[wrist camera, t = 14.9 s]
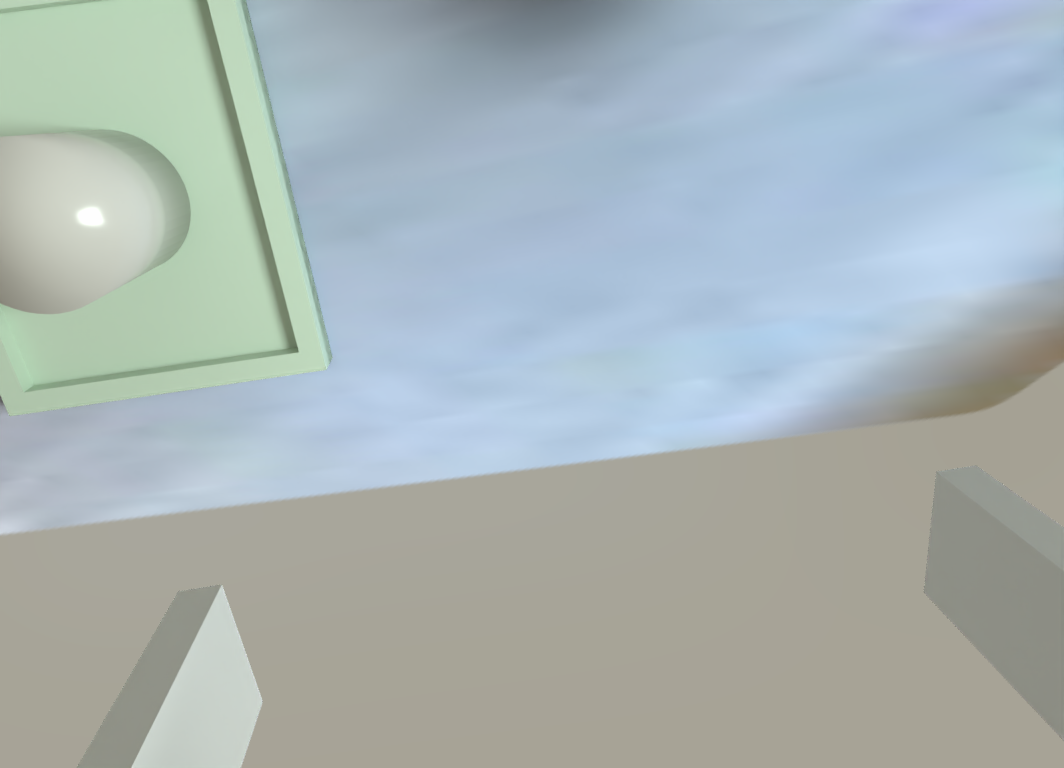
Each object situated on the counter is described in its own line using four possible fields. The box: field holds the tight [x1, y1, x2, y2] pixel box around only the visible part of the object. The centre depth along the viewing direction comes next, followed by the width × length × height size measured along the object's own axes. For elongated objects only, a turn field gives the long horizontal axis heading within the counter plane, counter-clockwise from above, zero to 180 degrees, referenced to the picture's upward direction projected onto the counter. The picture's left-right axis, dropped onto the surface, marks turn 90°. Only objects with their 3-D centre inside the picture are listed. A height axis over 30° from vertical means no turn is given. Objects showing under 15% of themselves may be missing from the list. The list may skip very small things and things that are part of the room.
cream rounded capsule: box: [0, 129, 191, 314], centre depth 32 cm, size 7×7×8 cm
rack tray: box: [0, 0, 332, 416], centre depth 36 cm, size 20×17×2 cm
